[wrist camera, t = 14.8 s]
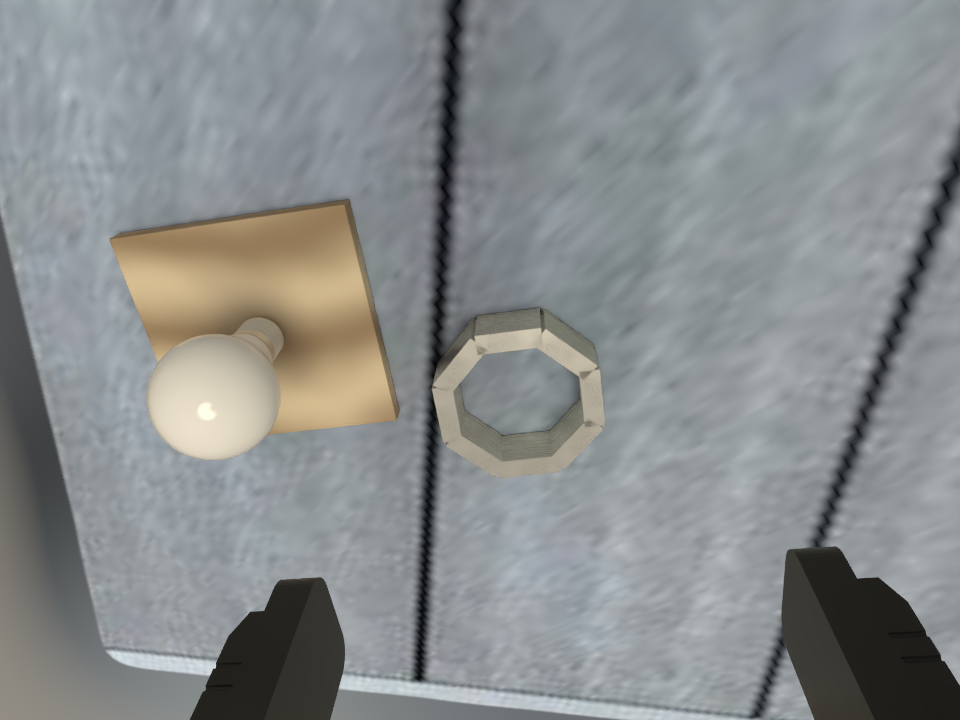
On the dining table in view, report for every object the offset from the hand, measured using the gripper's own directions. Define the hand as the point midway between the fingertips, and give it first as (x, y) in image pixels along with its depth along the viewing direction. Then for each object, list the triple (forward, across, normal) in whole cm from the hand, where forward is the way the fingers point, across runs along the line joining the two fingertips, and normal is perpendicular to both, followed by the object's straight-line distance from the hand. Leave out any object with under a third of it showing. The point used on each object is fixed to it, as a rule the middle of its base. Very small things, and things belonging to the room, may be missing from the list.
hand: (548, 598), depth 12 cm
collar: (+30, +2, +12) cm, 32 cm away
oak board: (+30, +17, +7) cm, 35 cm away
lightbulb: (+29, +17, +7) cm, 34 cm away
